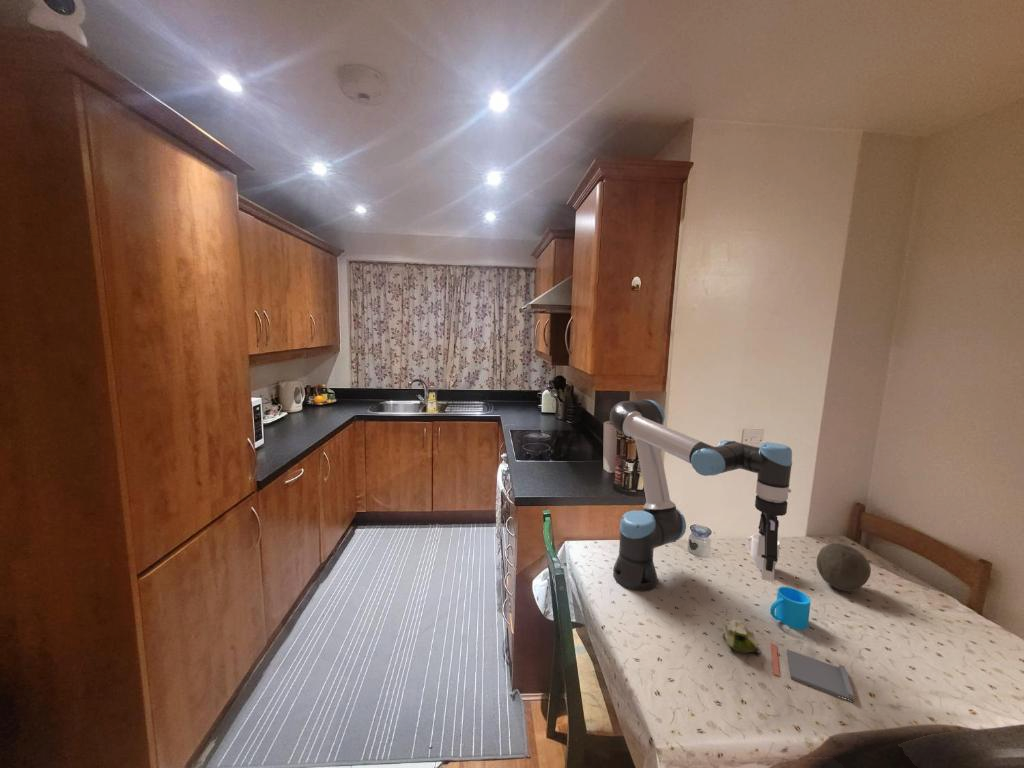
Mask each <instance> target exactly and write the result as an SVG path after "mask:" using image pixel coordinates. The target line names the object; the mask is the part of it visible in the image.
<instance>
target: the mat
mask: <svg viewBox="0 0 1024 768" xmlns="http://www.w3.org/2000/svg"><path fill="white" fill-rule="evenodd" d="M786 654H787V655H786V656H787V661H788V667H789V676H790V679H791V680H794V681H796V682H799V683H801V684H804V685H807V686H810V687H812V688H814V689H817V690H819V691H822V692H825V693H828V694H830V695H832V696H835V697H837V696H840V697H843V698H846V699H849V700H851V701H852V702H851V703H854V700H855V695H854V694H855V693H854V692H853V688H852V685H851V682H850V678H849V675H848V673H847V669H846V666H845V665H844V664H841V663H839V664H838V666H836V665H833V664H830V663H827V662H824V661H822V660H818V659H816V658H814V657H810V656H808V655H805V654H802V653H799V652H796V651H793V650H790V649H786ZM840 697H839V698H840Z"/></svg>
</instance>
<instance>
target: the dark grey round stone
mask: <svg viewBox="0 0 1024 768" xmlns="http://www.w3.org/2000/svg"><path fill="white" fill-rule="evenodd" d="M815 564H816V567H817V571H818V573H819V575H820V576H821V578H822V579H823V581H824V582H826V583H827V584H828V585H830V586H832V588H835V589H836V590H839V591H842V592H852V591H856V590H859V589H860V588H862V587H863V586H864V585H865V584H866V583H867V582H868V580H869V579H870V577H871V573H872V572H871V571H872V570H871V569H872V568H871V565H870V563H869V560H867V557H865V555H864V554H863V553H862V552H861V551H859V550H858V549H857V548H854V547H852V546H849V545H845V544H843V543H828V544H826V545H825V546H822V548H821V549H820V551H819V552H818V554H817V557H816V563H815Z"/></svg>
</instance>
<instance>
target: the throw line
mask: <svg viewBox="0 0 1024 768" xmlns="http://www.w3.org/2000/svg"><path fill="white" fill-rule="evenodd" d="M770 648H771V658H772V669H773V675H774V676H775V677H778V678H780V676H781V675H780V667H779V657H778V649H777V644H776V643H772V642H771V643H770Z"/></svg>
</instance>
